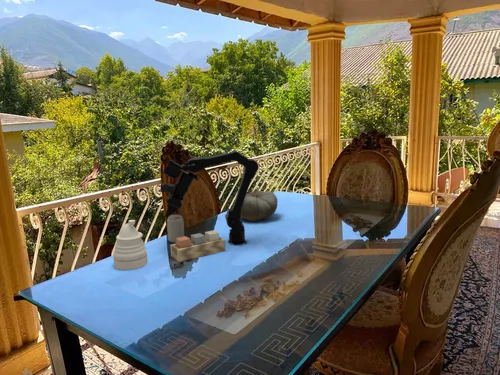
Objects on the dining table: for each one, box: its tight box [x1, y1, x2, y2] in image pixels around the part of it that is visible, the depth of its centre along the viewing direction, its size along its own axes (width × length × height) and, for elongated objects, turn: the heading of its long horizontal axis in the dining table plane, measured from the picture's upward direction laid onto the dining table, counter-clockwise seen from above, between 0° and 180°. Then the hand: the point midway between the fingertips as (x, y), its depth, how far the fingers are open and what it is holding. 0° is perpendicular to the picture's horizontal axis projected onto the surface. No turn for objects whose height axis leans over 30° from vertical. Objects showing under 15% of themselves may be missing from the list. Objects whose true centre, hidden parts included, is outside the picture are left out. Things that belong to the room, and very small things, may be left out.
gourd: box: [240, 188, 279, 222], centre depth 213 cm, size 25×25×17 cm
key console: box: [169, 236, 226, 263], centre depth 162 cm, size 22×8×5 cm, turn 124°
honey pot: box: [112, 219, 149, 271], centre depth 151 cm, size 13×13×18 cm
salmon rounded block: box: [175, 235, 191, 249], centre depth 158 cm, size 4×4×5 cm
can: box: [166, 214, 185, 244], centre depth 178 cm, size 8×8×12 cm
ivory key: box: [204, 229, 220, 242], centre depth 165 cm, size 4×4×5 cm
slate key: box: [190, 232, 205, 245], centre depth 161 cm, size 4×4×5 cm
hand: (166, 214), depth 169 cm, fingers open, 9 cm apart
